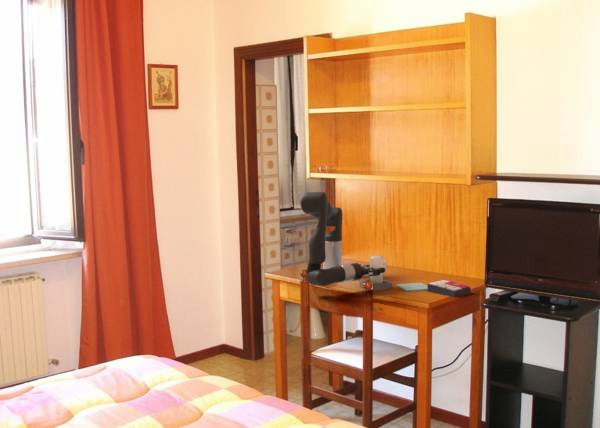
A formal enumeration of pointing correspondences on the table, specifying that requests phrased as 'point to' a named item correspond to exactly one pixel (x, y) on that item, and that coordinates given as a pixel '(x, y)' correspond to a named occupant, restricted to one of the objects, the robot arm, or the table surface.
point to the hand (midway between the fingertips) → (378, 268)
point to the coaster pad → (413, 287)
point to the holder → (380, 285)
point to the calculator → (448, 288)
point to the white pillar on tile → (377, 262)
